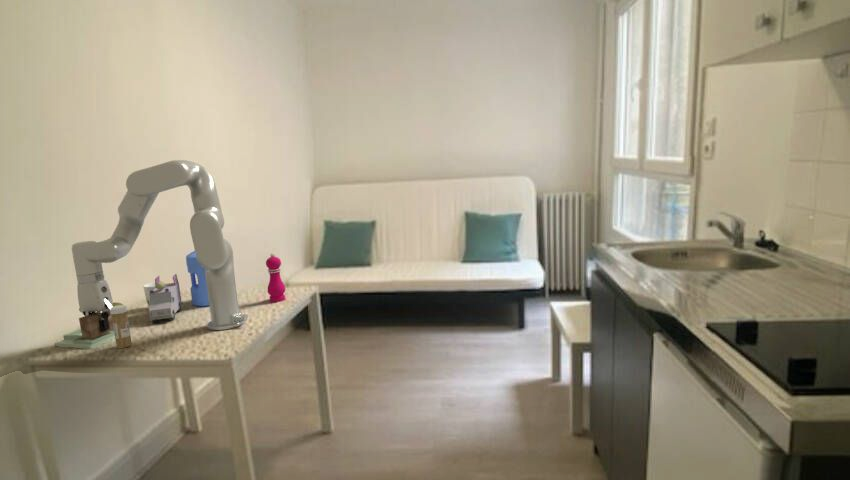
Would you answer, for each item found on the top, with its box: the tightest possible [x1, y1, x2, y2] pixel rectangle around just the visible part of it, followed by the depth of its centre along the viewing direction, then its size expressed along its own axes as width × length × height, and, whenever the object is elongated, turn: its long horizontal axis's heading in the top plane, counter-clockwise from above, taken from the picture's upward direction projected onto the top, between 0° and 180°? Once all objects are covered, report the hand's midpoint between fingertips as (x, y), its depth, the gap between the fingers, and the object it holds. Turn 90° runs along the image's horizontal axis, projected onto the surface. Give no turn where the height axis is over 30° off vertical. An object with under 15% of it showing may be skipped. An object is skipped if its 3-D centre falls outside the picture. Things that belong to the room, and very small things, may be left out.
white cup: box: [142, 281, 166, 310], centre depth 208 cm, size 8×8×10 cm
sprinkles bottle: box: [110, 304, 133, 349], centre depth 163 cm, size 5×5×13 cm
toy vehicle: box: [146, 273, 183, 323], centre depth 194 cm, size 9×20×15 cm, turn 15°
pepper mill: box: [265, 252, 286, 303], centre depth 208 cm, size 7×7×20 cm
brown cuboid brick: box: [78, 312, 114, 339], centre depth 171 cm, size 4×10×7 cm, turn 165°
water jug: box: [185, 250, 210, 307], centre depth 211 cm, size 16×16×28 cm
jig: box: [53, 328, 116, 350], centre depth 173 cm, size 15×15×3 cm
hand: (99, 329), depth 171 cm, fingers closed on brown cuboid brick, 3 cm apart
